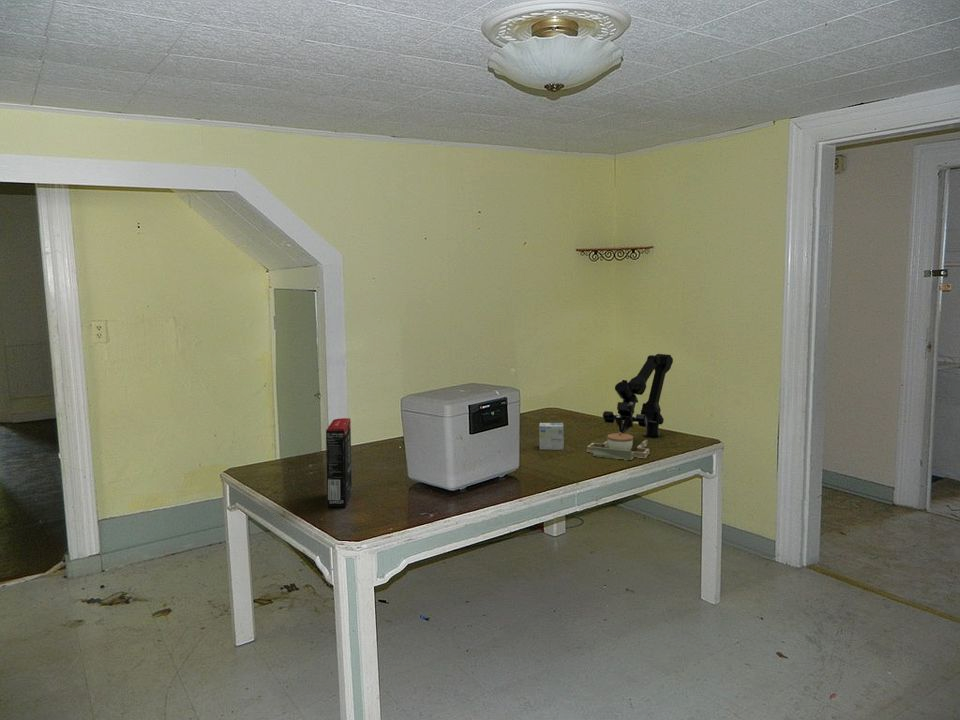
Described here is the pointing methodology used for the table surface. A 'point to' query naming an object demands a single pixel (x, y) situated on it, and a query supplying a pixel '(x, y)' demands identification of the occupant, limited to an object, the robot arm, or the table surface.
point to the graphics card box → (338, 462)
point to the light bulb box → (551, 436)
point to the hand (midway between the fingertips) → (620, 434)
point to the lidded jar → (620, 441)
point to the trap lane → (618, 451)
